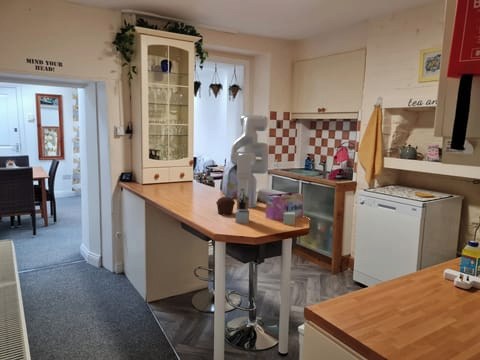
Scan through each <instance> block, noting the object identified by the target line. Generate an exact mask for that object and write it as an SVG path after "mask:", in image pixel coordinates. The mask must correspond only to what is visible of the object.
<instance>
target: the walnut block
mask: <svg viewBox="0 0 480 360" xmlns="http://www.w3.org/2000/svg"><path fill="white" fill-rule="evenodd" d="M239 202H240V197H238V198H237V197H236V211H237V210H249V209H250V208H249V197H245V209H239Z"/></svg>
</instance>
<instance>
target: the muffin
mask: <svg viewBox="0 0 480 360" xmlns="http://www.w3.org/2000/svg"><path fill="white" fill-rule="evenodd" d="M215 203H216V207H217V214H218V215H220V216H231V215H233V213H234V207H235V205H236V202H235V200H234V199H233V198H230V197H227V196H222V197H219V198H218V199H217V201H216V202H215Z"/></svg>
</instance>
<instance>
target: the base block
mask: <svg viewBox="0 0 480 360" xmlns="http://www.w3.org/2000/svg"><path fill="white" fill-rule="evenodd" d="M234 221H235V223H236V224H249V222H248V221H250V209H248V210H237V209H236V211H235V220H234Z"/></svg>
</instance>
